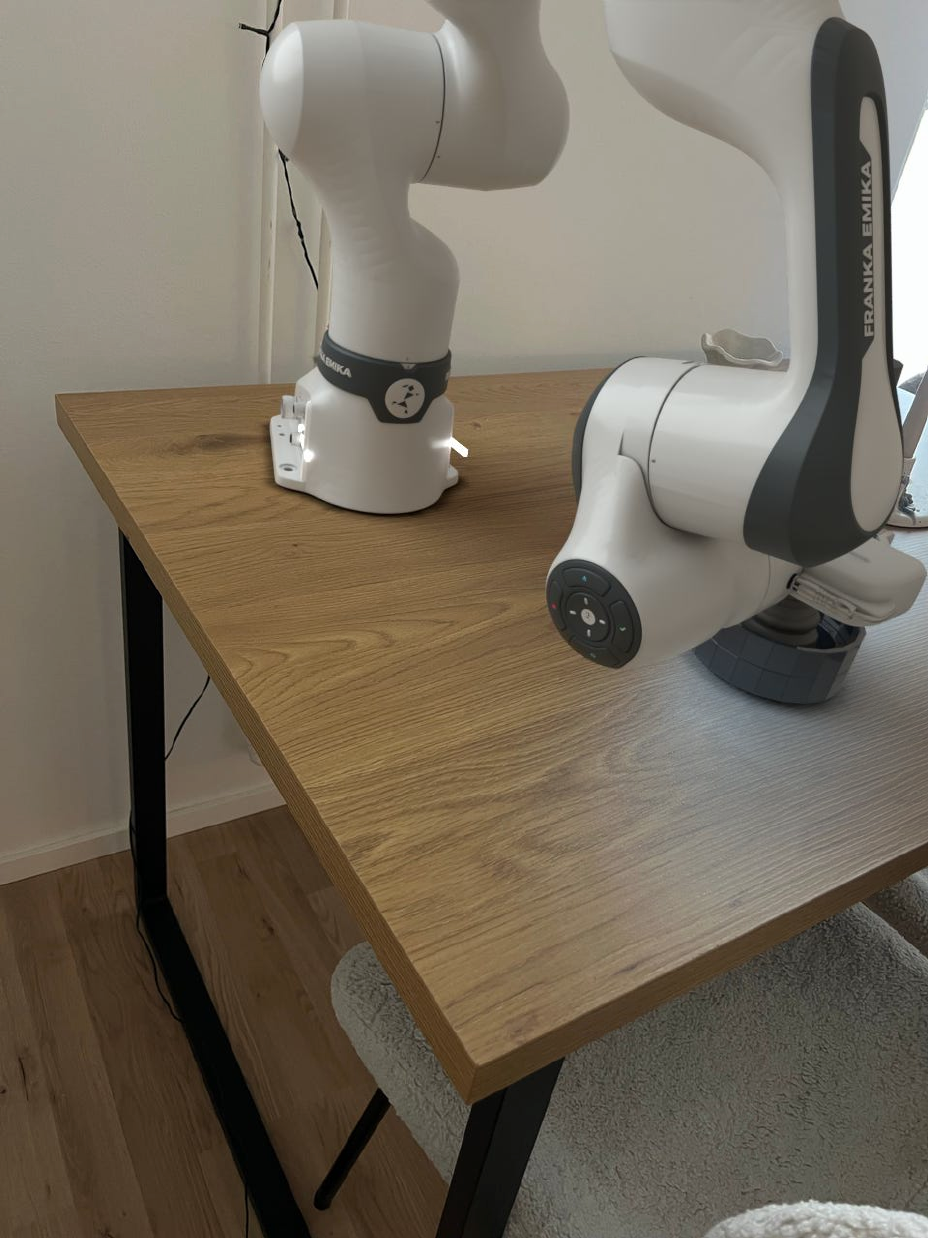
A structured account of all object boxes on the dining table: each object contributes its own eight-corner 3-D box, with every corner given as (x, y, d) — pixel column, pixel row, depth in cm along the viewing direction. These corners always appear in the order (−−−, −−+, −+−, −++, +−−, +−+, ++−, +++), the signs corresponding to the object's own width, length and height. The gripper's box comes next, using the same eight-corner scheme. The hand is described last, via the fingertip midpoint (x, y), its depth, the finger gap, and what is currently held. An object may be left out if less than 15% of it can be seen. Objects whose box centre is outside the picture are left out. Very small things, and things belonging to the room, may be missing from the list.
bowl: (657, 623, 86) (675, 568, 83) (775, 612, 92) (796, 560, 89) (746, 718, 77) (770, 659, 74) (873, 700, 82) (900, 644, 79)
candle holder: (823, 676, 81) (926, 369, 70) (764, 686, 79) (861, 369, 67) (772, 638, 86) (861, 345, 74) (715, 647, 84) (798, 344, 72)
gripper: (891, 585, 61) (975, 535, 70) (628, 451, 72) (730, 422, 81) (852, 668, 64) (936, 610, 74) (606, 528, 75) (706, 493, 84)
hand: (826, 511), depth 77 cm, fingers open, 8 cm apart
